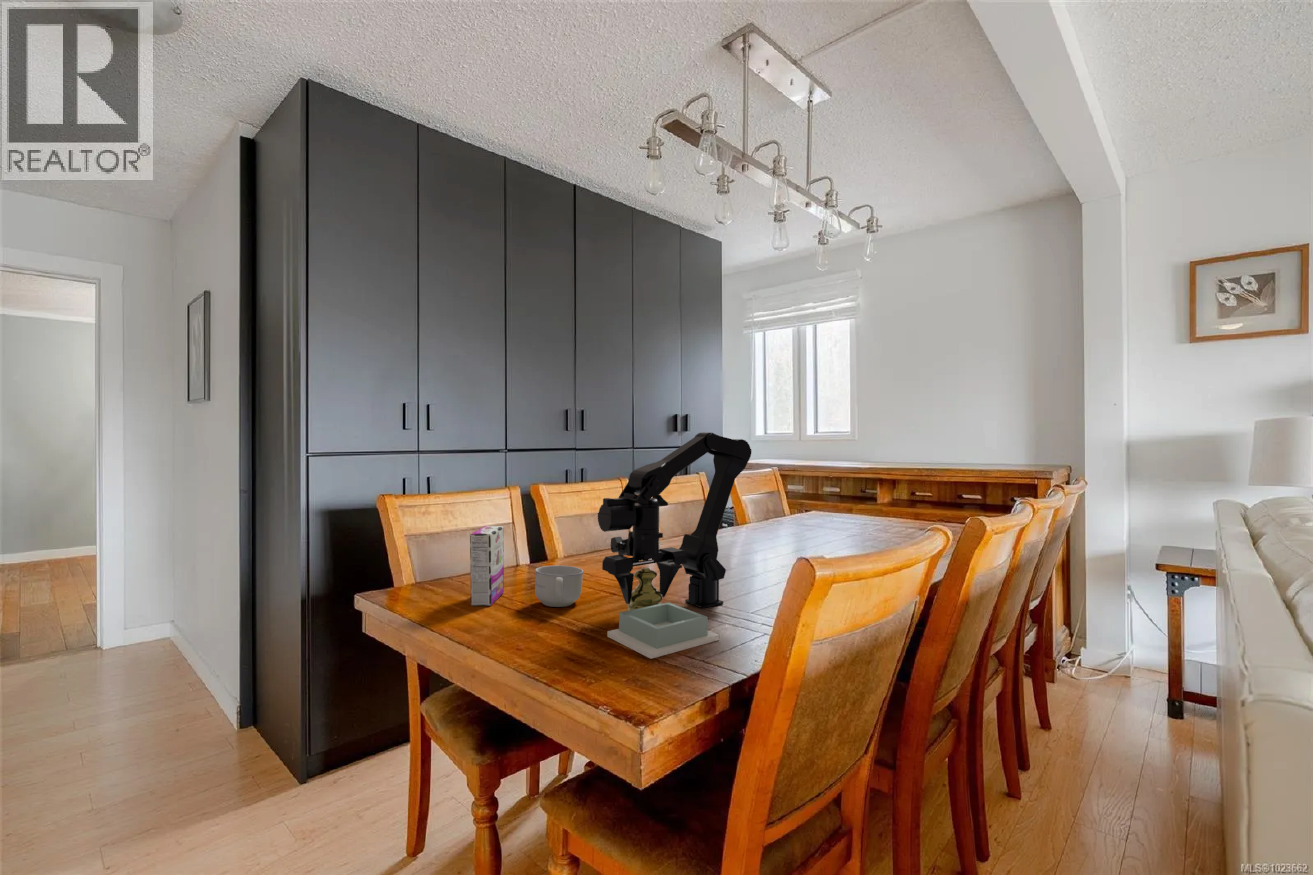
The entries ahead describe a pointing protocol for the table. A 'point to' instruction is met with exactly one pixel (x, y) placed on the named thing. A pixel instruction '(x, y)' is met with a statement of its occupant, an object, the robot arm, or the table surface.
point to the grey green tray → (662, 630)
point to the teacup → (558, 585)
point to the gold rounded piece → (645, 590)
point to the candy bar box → (486, 565)
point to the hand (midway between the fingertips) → (645, 600)
